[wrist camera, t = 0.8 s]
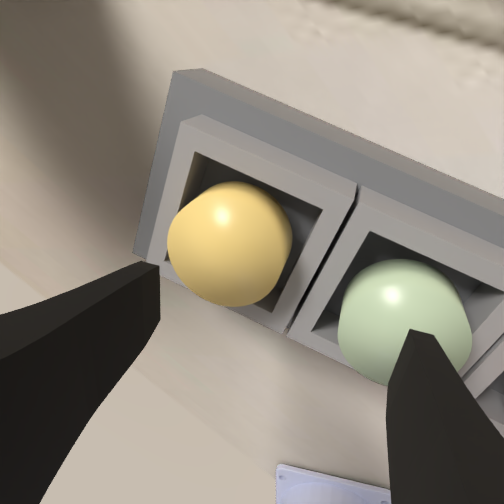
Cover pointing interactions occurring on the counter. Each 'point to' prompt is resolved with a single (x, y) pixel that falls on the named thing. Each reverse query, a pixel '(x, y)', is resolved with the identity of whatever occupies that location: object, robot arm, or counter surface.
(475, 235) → the button panel
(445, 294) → the sage button
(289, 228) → the yellow rounded piece
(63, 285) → the counter surface
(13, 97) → the counter surface
